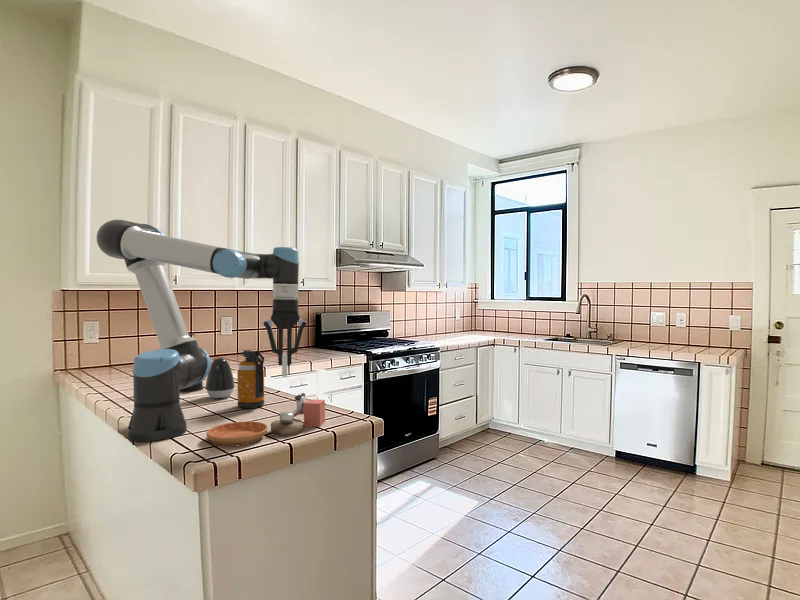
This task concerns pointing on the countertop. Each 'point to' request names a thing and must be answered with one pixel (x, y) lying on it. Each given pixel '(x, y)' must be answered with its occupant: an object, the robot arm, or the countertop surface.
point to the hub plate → (286, 428)
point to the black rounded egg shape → (220, 379)
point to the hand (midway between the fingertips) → (284, 375)
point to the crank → (289, 416)
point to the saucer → (237, 433)
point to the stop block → (314, 412)
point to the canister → (251, 380)
